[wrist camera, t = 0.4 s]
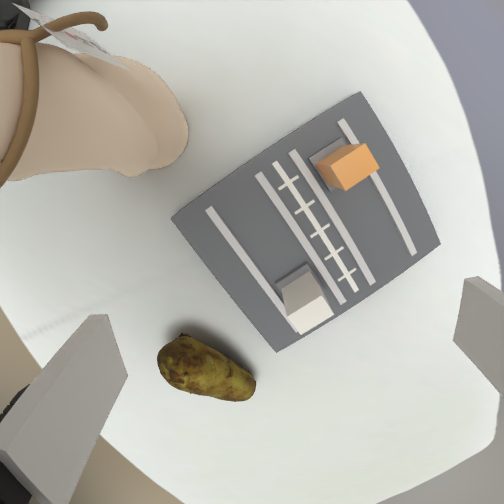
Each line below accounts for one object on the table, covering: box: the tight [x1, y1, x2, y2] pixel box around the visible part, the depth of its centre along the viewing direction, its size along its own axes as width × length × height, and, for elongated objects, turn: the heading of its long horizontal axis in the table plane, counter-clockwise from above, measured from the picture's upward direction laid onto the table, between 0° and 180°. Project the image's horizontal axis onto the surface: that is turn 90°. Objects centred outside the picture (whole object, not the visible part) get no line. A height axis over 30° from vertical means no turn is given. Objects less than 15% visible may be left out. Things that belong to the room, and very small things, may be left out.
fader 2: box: [308, 138, 379, 192], centre depth 27 cm, size 4×4×7 cm
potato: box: [157, 333, 256, 402], centre depth 36 cm, size 8×13×8 cm, turn 29°
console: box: [171, 91, 441, 353], centre depth 33 cm, size 20×24×3 cm
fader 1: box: [275, 262, 334, 335], centre depth 31 cm, size 4×4×7 cm
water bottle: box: [0, 3, 189, 188], centre depth 18 cm, size 10×9×28 cm
